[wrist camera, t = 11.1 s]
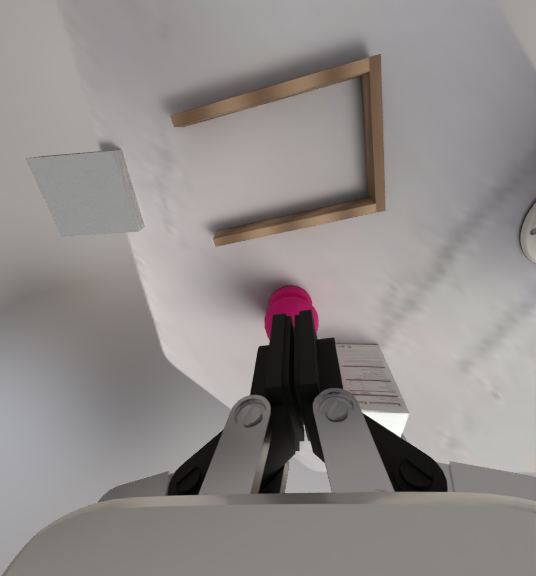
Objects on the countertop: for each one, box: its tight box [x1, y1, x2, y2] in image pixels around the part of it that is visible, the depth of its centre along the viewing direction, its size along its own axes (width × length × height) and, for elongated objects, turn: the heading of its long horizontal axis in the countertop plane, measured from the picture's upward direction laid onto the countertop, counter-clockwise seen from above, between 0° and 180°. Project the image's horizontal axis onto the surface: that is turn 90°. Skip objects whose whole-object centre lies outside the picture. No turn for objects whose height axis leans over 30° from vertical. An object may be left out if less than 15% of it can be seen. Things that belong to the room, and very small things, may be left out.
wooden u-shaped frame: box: [171, 54, 385, 246], centre depth 31 cm, size 20×14×3 cm
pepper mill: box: [265, 286, 318, 429], centre depth 33 cm, size 7×7×20 cm
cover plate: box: [26, 150, 145, 236], centre depth 34 cm, size 10×9×2 cm
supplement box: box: [335, 344, 409, 437], centre depth 41 cm, size 7×7×13 cm
